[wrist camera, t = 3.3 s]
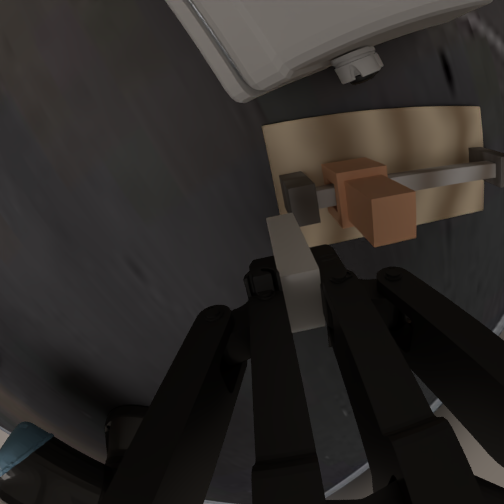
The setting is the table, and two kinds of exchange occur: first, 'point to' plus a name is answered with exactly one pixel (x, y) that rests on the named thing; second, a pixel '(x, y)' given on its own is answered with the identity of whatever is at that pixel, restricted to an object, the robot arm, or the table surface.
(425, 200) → the rail board
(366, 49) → the junction box
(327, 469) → the table surface
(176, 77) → the table surface
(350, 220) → the brown stepped block
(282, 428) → the robot arm
